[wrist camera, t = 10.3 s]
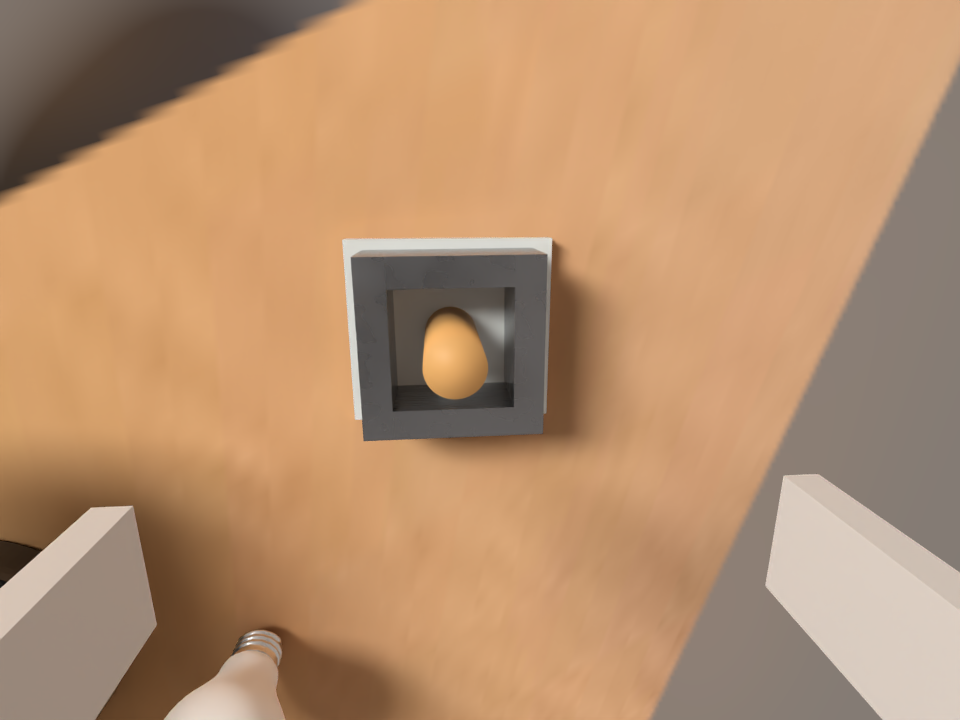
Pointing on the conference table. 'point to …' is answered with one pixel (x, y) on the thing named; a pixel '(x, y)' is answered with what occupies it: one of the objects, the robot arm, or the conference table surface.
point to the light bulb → (239, 684)
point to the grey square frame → (417, 405)
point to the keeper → (445, 322)
